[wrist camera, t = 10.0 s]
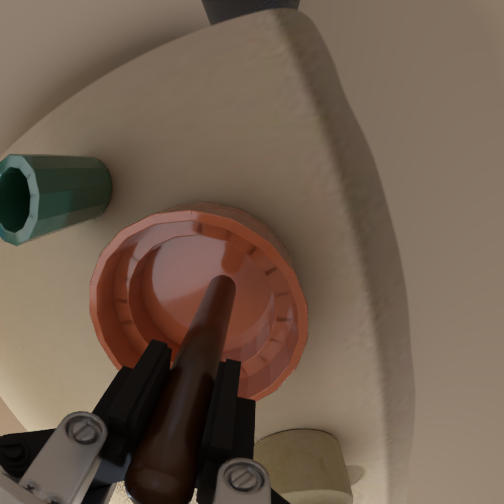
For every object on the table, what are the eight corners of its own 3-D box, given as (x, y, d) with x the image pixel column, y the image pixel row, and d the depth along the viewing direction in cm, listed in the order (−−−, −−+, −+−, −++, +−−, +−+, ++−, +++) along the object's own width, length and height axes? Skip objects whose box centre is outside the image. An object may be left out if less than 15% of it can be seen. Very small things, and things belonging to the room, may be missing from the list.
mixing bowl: (137, 185, 21) (97, 189, 15) (319, 227, 21) (340, 246, 16) (121, 339, 24) (92, 376, 19) (270, 379, 25) (271, 426, 19)
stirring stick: (213, 268, 19) (110, 486, 4) (240, 274, 19) (190, 511, 4) (208, 292, 20) (119, 510, 5) (234, 298, 20) (185, 530, 5)
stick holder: (67, 153, 20) (-7, 152, 12) (117, 160, 20) (44, 157, 12) (59, 214, 22) (-13, 234, 13) (107, 226, 22) (36, 254, 13)
